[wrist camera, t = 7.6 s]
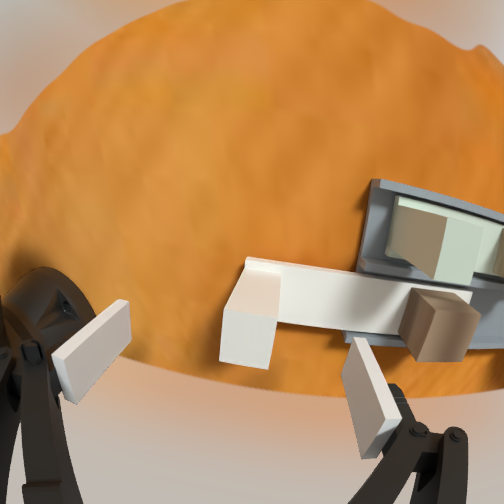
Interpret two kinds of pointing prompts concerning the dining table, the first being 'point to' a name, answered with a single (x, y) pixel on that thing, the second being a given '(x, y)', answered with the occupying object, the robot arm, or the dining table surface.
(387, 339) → the lane board
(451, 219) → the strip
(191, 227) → the dining table surface
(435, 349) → the walnut block
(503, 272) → the maple block
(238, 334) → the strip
